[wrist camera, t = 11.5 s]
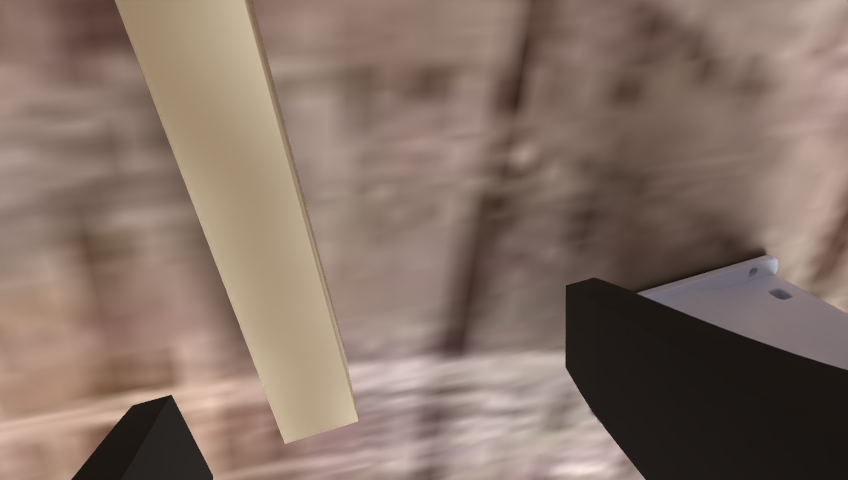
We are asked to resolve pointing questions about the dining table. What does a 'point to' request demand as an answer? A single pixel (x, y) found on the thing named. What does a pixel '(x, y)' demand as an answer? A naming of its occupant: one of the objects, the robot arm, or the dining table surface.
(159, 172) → the dining table surface
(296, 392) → the beige tapered strip
